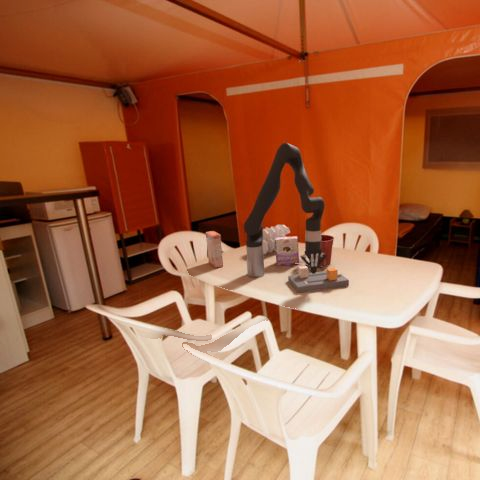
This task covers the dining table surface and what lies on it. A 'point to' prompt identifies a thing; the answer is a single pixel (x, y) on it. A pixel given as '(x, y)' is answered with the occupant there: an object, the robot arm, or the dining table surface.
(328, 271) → the orange slider
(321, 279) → the panel
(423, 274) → the dining table surface
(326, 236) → the flower pot
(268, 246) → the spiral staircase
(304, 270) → the ivory slider
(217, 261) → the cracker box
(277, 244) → the candy box
